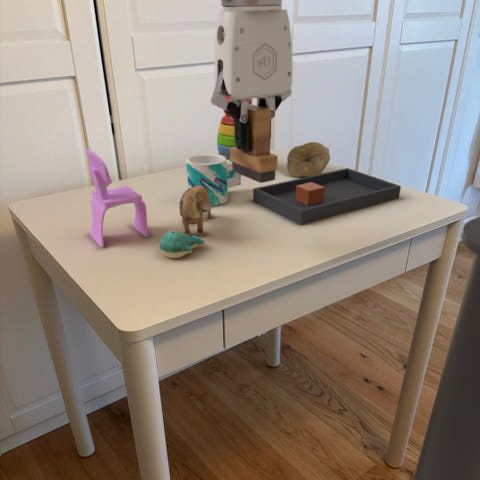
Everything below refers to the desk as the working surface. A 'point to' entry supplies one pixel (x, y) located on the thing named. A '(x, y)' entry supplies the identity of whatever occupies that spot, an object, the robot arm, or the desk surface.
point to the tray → (327, 195)
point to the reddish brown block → (309, 193)
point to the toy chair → (111, 199)
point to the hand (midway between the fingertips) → (253, 147)
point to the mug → (212, 176)
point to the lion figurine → (195, 208)
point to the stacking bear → (226, 134)
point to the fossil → (307, 159)
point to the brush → (256, 149)
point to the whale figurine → (178, 244)
